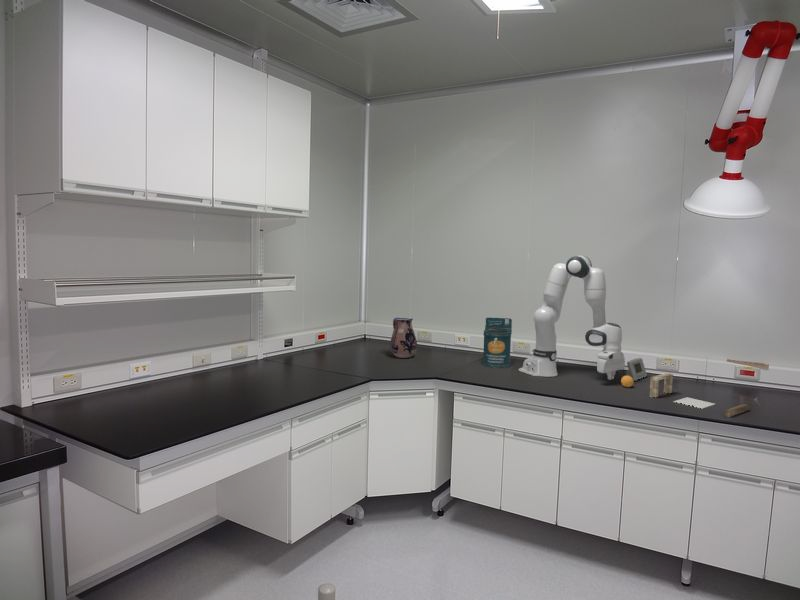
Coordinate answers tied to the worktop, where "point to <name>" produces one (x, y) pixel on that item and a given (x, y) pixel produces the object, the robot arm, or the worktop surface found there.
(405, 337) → the ceramic pitcher
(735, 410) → the stopper
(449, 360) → the worktop surface
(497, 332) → the teal food package
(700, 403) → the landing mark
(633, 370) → the digital clock
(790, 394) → the worktop surface
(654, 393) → the bridge
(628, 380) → the ball
